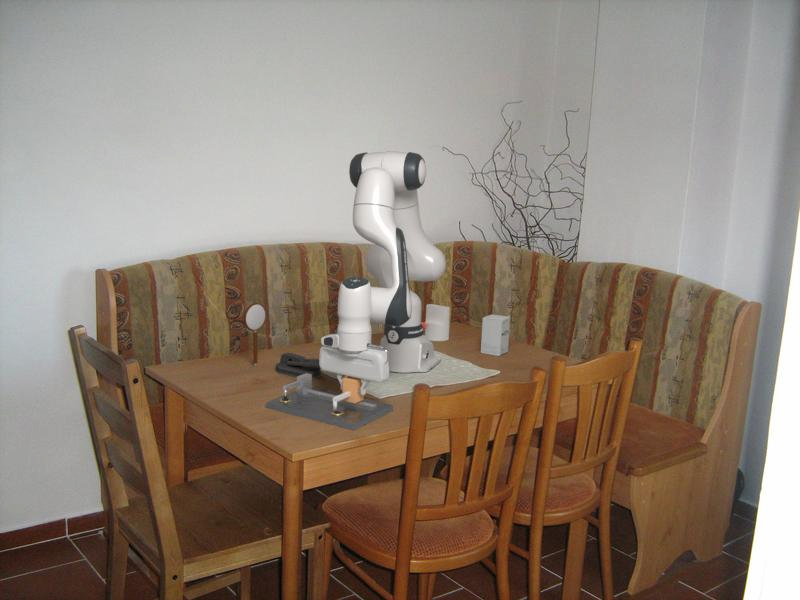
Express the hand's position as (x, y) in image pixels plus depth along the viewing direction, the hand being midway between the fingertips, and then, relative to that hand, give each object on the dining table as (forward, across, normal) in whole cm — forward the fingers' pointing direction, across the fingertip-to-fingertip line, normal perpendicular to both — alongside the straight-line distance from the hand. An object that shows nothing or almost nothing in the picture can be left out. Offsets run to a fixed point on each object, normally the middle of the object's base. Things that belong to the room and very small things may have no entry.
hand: (353, 392), depth 204 cm
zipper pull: (+5, +28, -17) cm, 33 cm away
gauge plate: (+5, +5, +3) cm, 8 cm away
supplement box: (+5, -4, -78) cm, 78 cm away
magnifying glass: (+5, +48, -16) cm, 51 cm away
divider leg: (+3, 0, +3) cm, 4 cm away
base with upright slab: (+5, +22, -84) cm, 87 cm away
